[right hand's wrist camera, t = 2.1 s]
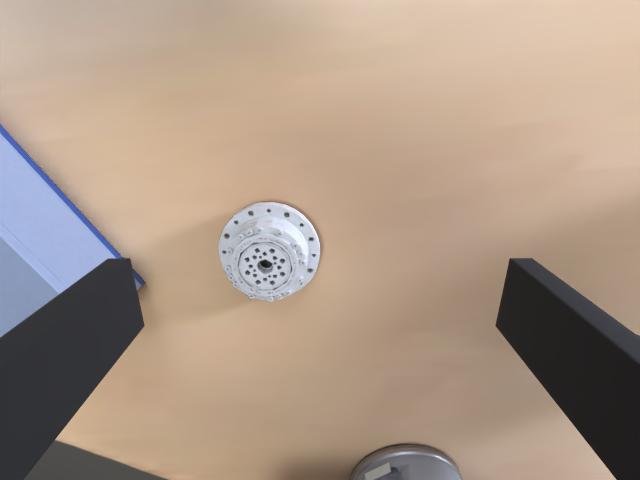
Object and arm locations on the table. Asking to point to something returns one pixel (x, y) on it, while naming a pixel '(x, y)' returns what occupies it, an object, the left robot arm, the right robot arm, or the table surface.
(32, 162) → the cabinet
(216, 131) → the table surface
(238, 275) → the mechanical component
